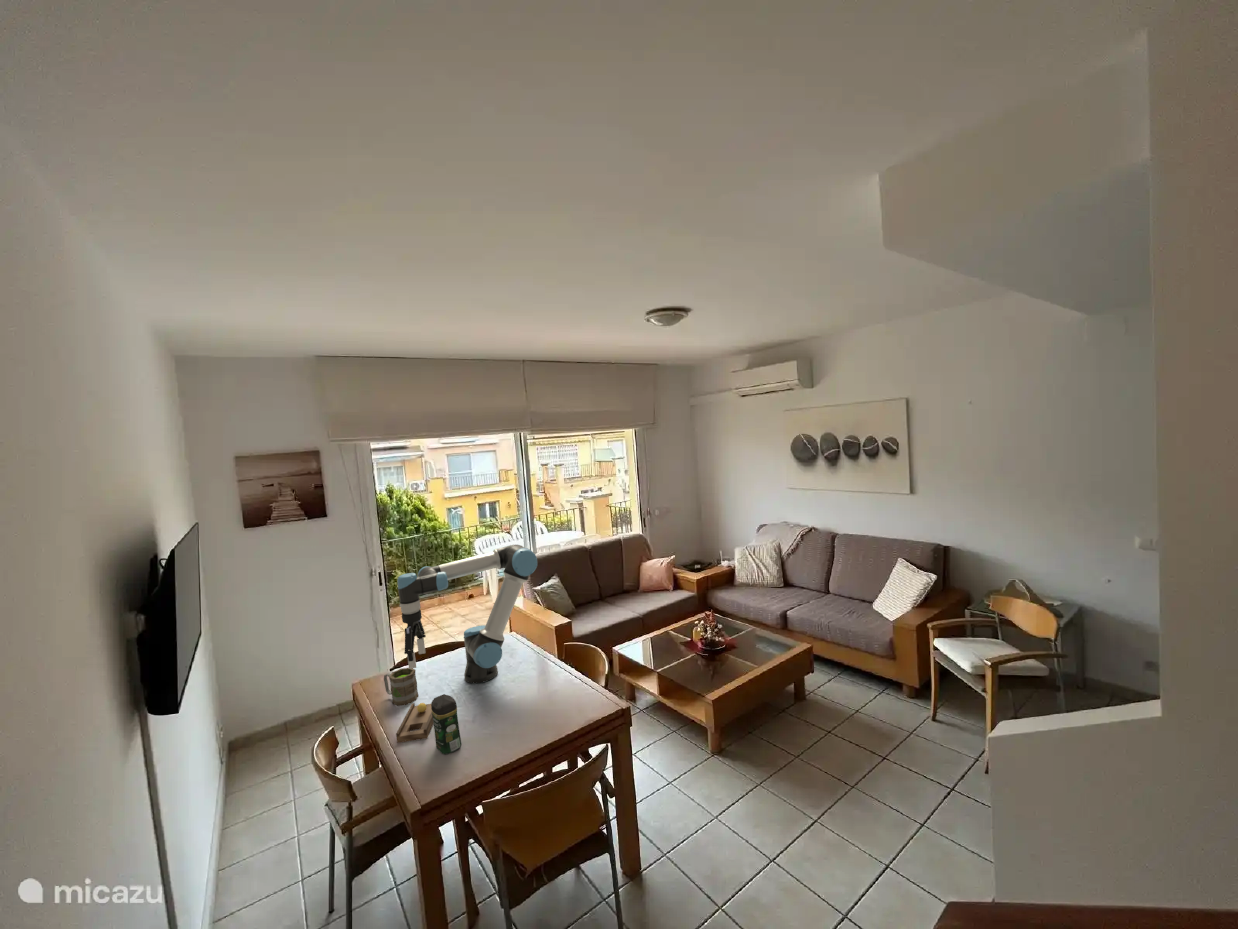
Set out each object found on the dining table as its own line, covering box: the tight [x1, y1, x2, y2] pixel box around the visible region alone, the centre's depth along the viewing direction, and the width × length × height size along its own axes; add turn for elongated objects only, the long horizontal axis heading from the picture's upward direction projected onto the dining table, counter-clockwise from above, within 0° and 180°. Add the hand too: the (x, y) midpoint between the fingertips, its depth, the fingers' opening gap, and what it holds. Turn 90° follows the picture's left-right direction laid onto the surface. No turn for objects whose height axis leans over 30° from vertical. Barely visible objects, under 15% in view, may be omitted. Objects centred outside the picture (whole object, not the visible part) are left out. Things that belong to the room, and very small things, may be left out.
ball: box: [416, 702, 427, 713], centre depth 212 cm, size 4×4×4 cm
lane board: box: [395, 702, 434, 744], centre depth 208 cm, size 11×22×4 cm, turn 7°
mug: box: [383, 667, 419, 707], centre depth 230 cm, size 16×11×12 cm
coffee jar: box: [430, 693, 462, 755], centre depth 190 cm, size 10×8×19 cm
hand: (417, 660), depth 219 cm, fingers open, 13 cm apart
